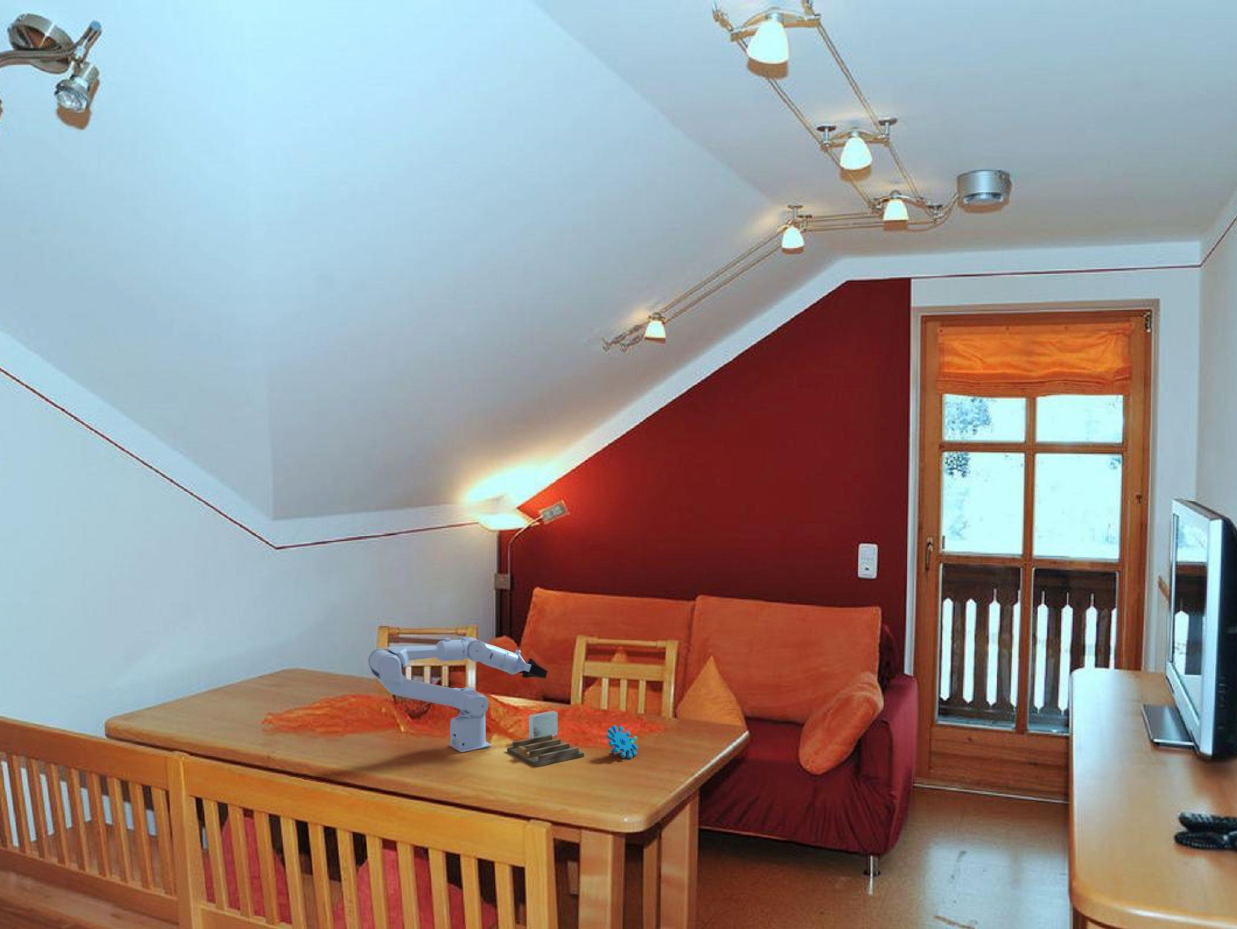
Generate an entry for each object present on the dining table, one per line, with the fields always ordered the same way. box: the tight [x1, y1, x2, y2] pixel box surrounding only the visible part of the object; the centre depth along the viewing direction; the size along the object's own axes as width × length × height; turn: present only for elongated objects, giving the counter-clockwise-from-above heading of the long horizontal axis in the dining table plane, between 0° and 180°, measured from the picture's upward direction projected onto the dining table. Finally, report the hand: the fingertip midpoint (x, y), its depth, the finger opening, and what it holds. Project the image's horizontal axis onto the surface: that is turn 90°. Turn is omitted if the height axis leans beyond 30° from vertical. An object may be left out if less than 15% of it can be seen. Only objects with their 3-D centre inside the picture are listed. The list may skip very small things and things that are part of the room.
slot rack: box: [506, 734, 585, 768], centre depth 283 cm, size 15×16×3 cm
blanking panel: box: [528, 710, 559, 739], centre depth 298 cm, size 8×2×7 cm, turn 124°
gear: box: [606, 724, 639, 759], centre depth 283 cm, size 11×6×10 cm
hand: (539, 672), depth 300 cm, fingers open, 7 cm apart
